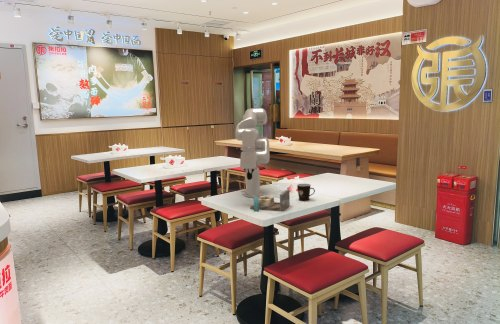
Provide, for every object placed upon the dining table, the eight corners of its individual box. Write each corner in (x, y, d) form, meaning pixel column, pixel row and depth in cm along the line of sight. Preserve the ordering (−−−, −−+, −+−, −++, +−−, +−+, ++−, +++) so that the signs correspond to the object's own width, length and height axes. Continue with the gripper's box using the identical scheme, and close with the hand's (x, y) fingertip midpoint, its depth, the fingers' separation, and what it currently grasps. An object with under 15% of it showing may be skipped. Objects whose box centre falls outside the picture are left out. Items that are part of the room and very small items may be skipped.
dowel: (253, 211, 224) (252, 198, 223) (255, 209, 227) (254, 196, 226) (257, 211, 223) (257, 198, 222) (259, 210, 226) (259, 197, 225)
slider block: (255, 206, 230) (255, 199, 229) (260, 202, 238) (260, 196, 238) (269, 207, 227) (269, 200, 226) (274, 203, 235) (274, 196, 234)
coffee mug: (294, 199, 249) (294, 184, 248) (306, 197, 252) (305, 183, 251) (304, 203, 238) (304, 187, 237) (315, 201, 242) (315, 186, 240)
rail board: (250, 209, 229) (249, 192, 228) (257, 203, 241) (257, 188, 240) (283, 211, 222) (283, 194, 220) (289, 205, 234) (289, 189, 232)
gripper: (234, 150, 231) (236, 180, 233) (257, 150, 225) (258, 181, 228) (239, 149, 237) (240, 177, 240) (262, 149, 232) (263, 178, 234)
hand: (249, 179), depth 234 cm, fingers closed
